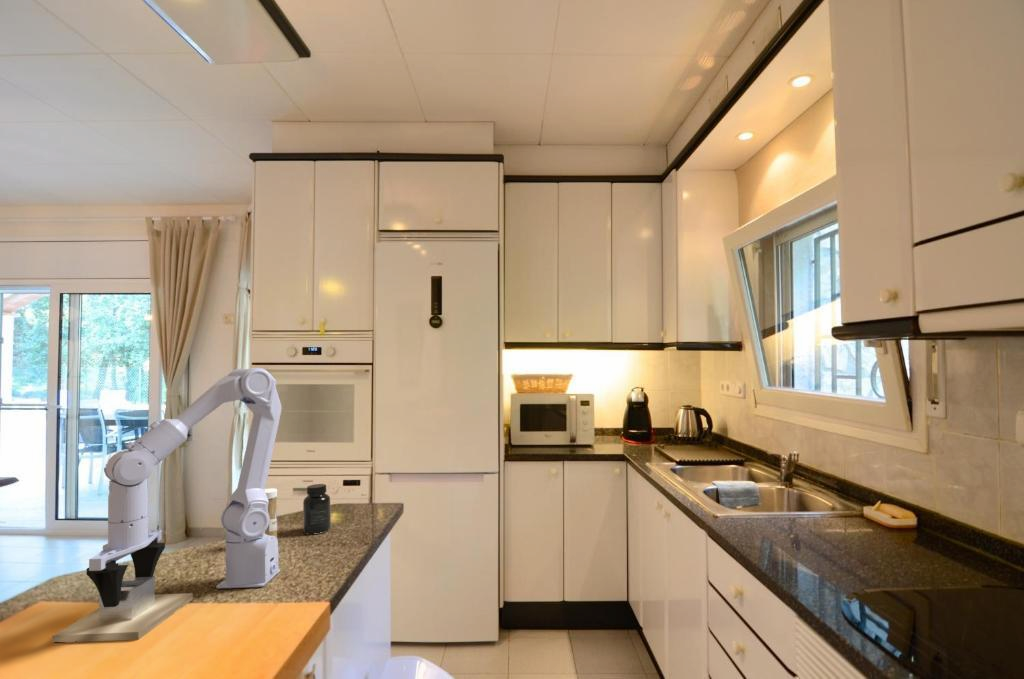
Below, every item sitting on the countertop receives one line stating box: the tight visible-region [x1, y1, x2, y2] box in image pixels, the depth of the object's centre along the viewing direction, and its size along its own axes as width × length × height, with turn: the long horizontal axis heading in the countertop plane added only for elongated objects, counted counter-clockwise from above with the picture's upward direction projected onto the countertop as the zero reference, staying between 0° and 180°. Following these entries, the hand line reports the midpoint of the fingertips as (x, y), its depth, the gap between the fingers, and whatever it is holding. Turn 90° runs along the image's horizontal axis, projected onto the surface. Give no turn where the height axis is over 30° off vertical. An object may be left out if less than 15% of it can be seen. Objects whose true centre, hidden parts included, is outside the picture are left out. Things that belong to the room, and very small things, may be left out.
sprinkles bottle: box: [265, 487, 279, 541], centre depth 126 cm, size 5×5×14 cm
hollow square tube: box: [98, 576, 156, 621], centre depth 89 cm, size 6×6×5 cm
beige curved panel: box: [52, 592, 194, 643], centre depth 89 cm, size 14×14×5 cm
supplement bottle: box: [302, 483, 332, 535], centre depth 135 cm, size 7×7×12 cm
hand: (128, 595), depth 89 cm, fingers open, 7 cm apart
